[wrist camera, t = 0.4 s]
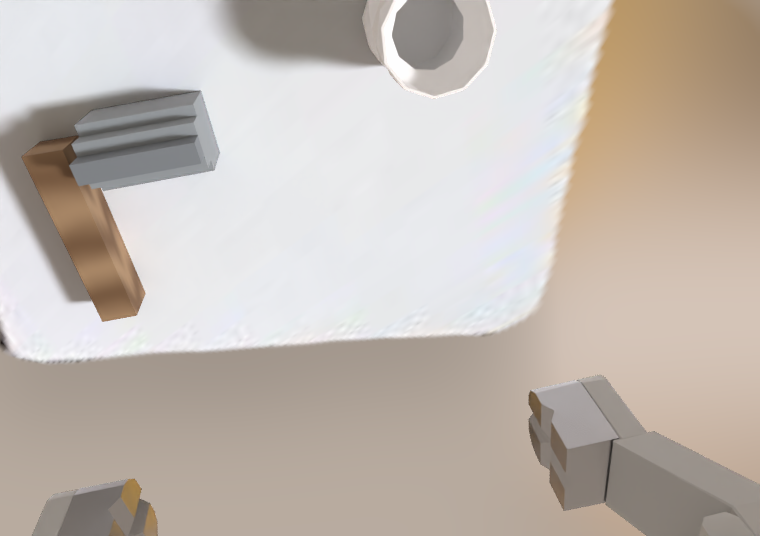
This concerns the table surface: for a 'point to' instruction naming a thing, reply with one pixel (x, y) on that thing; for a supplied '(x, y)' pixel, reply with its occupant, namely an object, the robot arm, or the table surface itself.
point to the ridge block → (144, 142)
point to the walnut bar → (86, 230)
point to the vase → (431, 42)
